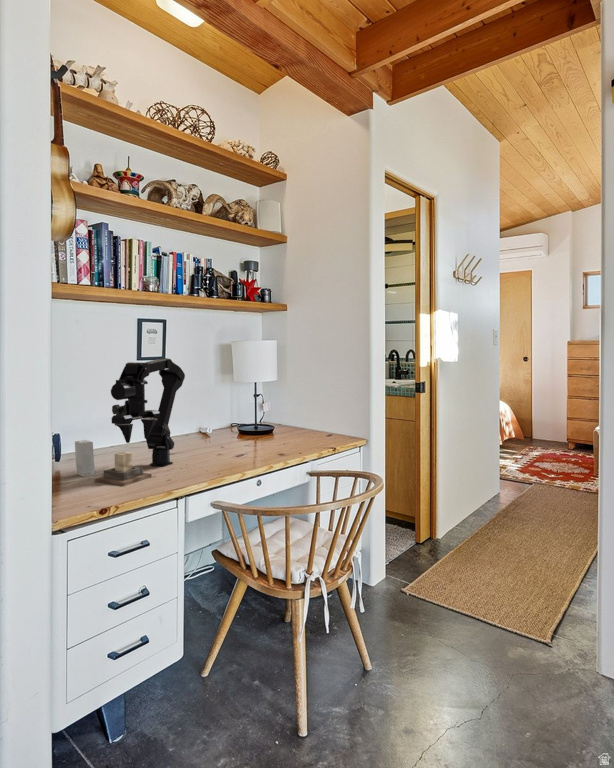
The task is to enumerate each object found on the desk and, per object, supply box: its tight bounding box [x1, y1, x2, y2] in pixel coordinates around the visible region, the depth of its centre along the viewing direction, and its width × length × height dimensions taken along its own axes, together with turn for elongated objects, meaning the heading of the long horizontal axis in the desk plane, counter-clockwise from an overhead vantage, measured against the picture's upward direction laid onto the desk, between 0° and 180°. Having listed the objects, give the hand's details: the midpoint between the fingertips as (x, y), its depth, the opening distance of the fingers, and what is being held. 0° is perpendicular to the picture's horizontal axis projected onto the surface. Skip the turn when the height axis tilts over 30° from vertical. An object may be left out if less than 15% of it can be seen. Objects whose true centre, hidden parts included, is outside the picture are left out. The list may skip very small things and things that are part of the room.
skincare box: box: [74, 439, 96, 478], centre depth 176 cm, size 6×4×12 cm
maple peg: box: [114, 451, 133, 472], centre depth 170 cm, size 4×4×8 cm
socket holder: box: [94, 465, 153, 487], centre depth 171 cm, size 13×13×4 cm
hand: (137, 440), depth 178 cm, fingers open, 9 cm apart
